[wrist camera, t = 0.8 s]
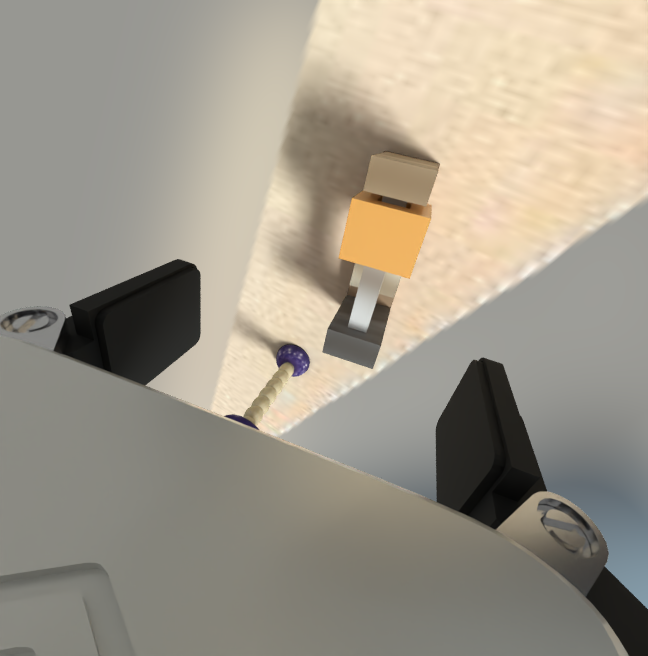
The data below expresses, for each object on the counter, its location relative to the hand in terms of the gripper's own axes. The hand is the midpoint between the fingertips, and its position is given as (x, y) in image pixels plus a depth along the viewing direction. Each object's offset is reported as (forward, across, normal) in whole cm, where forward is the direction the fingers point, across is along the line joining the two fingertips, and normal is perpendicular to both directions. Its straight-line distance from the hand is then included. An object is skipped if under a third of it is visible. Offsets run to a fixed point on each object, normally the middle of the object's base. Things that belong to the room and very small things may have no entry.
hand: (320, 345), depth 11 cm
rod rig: (+22, 0, +2) cm, 22 cm away
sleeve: (+17, 0, -1) cm, 18 cm away
